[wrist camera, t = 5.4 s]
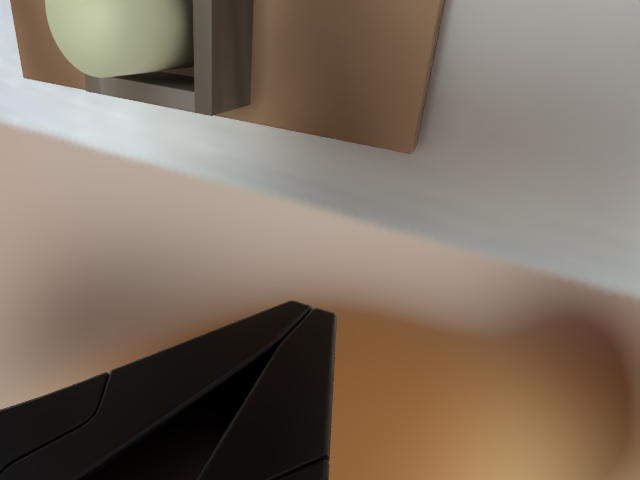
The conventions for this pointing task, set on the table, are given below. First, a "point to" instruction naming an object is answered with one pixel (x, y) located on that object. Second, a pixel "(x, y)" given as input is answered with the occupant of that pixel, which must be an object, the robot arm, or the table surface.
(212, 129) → the table surface
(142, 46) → the sage button
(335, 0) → the button panel
